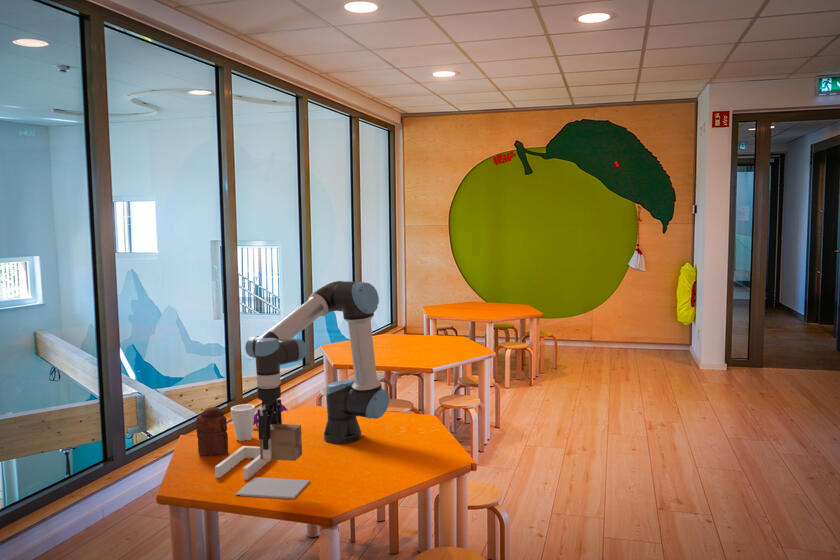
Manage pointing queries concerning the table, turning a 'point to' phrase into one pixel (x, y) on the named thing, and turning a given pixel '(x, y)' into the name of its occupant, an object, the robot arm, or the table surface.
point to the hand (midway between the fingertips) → (271, 454)
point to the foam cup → (243, 421)
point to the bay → (239, 456)
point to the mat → (273, 488)
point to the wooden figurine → (212, 432)
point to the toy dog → (267, 415)
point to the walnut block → (284, 442)
